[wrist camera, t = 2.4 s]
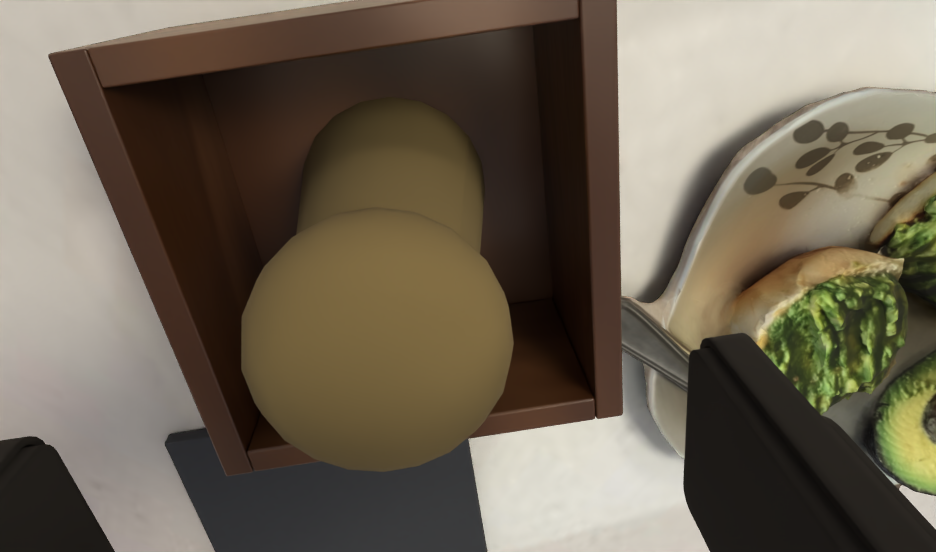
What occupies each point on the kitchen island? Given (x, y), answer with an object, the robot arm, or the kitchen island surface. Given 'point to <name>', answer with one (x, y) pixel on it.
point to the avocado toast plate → (817, 275)
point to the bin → (289, 141)
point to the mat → (332, 504)
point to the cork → (381, 296)
